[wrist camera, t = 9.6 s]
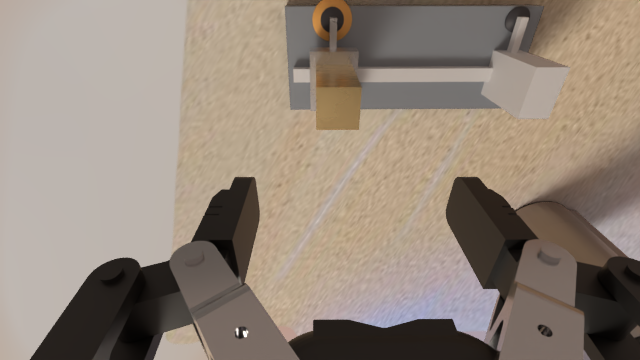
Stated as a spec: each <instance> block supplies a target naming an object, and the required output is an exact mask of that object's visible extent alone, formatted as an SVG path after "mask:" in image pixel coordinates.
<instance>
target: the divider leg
mask: <svg viewBox="0 0 640 360" xmlns="http://www.w3.org/2000/svg"><path fill="white" fill-rule="evenodd" d="M358 57H359V51H358V49H357V48H356V47H337V17H330V31H329V47H310V103H311V111H316V130H359V119H360V106H361V92H362V86H361V84H360V82H359V79H358V77H357V72H358Z"/></svg>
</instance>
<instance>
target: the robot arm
mask: <svg viewBox="0 0 640 360" xmlns="http://www.w3.org/2000/svg"><path fill="white" fill-rule="evenodd" d="M259 216H260V211H259V202H258V195H257V187H256V181H255V178H254V177H235V178H234V180H233V183H232V185H231V188H230V190H221V191H220V192H218V193H217V194H216V195H215V196H214V197H213V198H212V200H211V202H210V204H209V206H208V208H207V210H206V212H205V216H203V218H202V221H201V223H200V225H199V227H198V229H197V231H196V233H195V235H194V237H193V239H192V241H191V242H190V243H188V244H185V245H183V246H182V247H180V248H179V249H177V250H176V251H175V252H174V253H173V255H172V256H171V258H170V260H169V261H166V262H162V263H158V264H154V265H150V266H146V267H142V268H141V267H140V265H139V263H138V262H137V261H136V260H135V259H132V258H119V259H114V260H111V261H109V262H106V263H104V264H102V265H101V266H99V267H98V268H96V269H95V270H94V271H93V272H92V273H91V274H90V275H89V276H88V277H87V279H86V280H85V282H84V283H83V285H82V286H81V287H80V289H79V290H78V292H77V293H76V295H75V296H74V297H73V299H72V300H71V302H70V303H69V305H68V306H67V307H66V309H65V310H64V312H63V313H62V315H61V316H60V317H59V319H58V320H57V322H56V323H55V325H54V326H53V327H52V329H51V330H50V332H49V333H48V335H47V336H46V338H45V339H44V340H43V342H42V343H41V345H40V346H39V347H38V349H37V350H36V352H35V353H34V355H33V356H32V357H31V359H30V360H153V359H154V356H155V354H156V351H157V348H158V346H159V343H160V340H161V338H162V335H163V333H164V332H167V331H170V330H173V329H177V328H180V327H183V326H186V325H190V324H192V325H193V327H194V329H195V331H196V334H197V336H198V338H199V340H200V342H201V345H202V347H203V349H204V351H205V354H206V356H207V358H208V360H640V261H637V260H634V259H631V258H629V257H628V256H626V255H625V254H624V253H623V252H622V251H621V250H620V249H619V248H617V247H616V246H615V245H614V244H613V243H612V242H611V241H609V240H608V239H607V238H606V237H605V236H604V235H603V234H602V233H600V232H599V231H598V230H597V229H596V228H595V227H594V226H593V225H591V224H590V223H589V222H588V221H587V220H586V219H585V218H584V217H582V216H581V215H580V214H579V213H578V212H577V211H575V210H572V211H571V210H568V209H566V208H565V207H564V206H563V205H561V204H559V203H555V202H539V203H534V204H531V205H528V206H525V207H523V208H521V209H519V210H518V211H516V212H515V210H514V209H513V208H511V206H510V205H509V203H508V202H507V201H506V200H505V199H504V198H503V197H502V196H501V195H499V194H498V193H496V192H494V191H493V190H491V189H488V188H487V187H486V186H485V185H484V184H483V182H482V181H481V180H480V179H479V178H478V177H457V178H456V179H455V180H454V183H453V187H452V190H451V193H450V197H449V200H448V204H447V208H446V219H447V222H448V224H449V226H450V228H451V230H452V232H453V233H454V235H455V237H456V239H457V241H458V243H459V245H460V246H461V248H462V250H463V252H464V254H465V256H466V258H467V259H468V261H469V263H470V265H471V267H472V269H473V271H474V272H475V274H476V276H477V278H478V280H479V282H480V284H481V285H482V287H483V289H498V291H499V293H500V294H499V296H498V298H497V300H496V304H495V307H494V310H493V313H492V317H491V320H490V323H489V326H488V330H487V333H486V336H485V339H484V342H483V341H481V340H479V339H477V338H475V337H473V336H471V335H468V334H466V333H463V332H460V331H457V330H456V327H455V325H454V322H453V320H452V319H417V320H414V321H410V322H406V323H403V324H399V325H395V326H392V327H388V328H381V327H376V326H372V325H368V324H364V323H360V322H355V321H351V320H313V331H311V332H307V333H304V334H302V335H300V336H297V337H296V338H294V339H292V340H291V341H289V342H287V341H286V339H285V338H284V336H283V335H282V334H281V332H280V331H279V329H278V328H277V326H276V325H275V323H274V322H273V320H272V319H271V317H270V316H269V315H268V313H267V312H266V310H265V309H264V307H263V306H262V304H261V303H260V302H259V300H258V299H257V297H256V296H255V294H254V293H253V291H252V290H251V289H250V287H249V286H248V285H247V284H246V283H244V282H245V278H246V274H247V270H248V265H249V261H250V257H251V253H252V249H253V245H254V241H255V236H256V232H257V228H258V224H259Z"/></svg>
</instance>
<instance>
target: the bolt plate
mask: <svg viewBox="0 0 640 360" xmlns="http://www.w3.org/2000/svg"><path fill="white" fill-rule="evenodd" d="M543 8H544V6H539V5H347V3H346V2H345V1H343V0H322V1H320V2H319V3H318V5H286V6H285V17H286V35H287V53H288V72H289V90H290V108H291V110H299V109H311V103H310V47H329V31H330V17H337V47H356V48H357V49H358V51H359V57H358V72H357V77H358V79H359V82H360V84H361V86H362V92H361V106H360V109H483V108H502V109H504V110H505V111H507V112H508V113H509V114H511V115H512V116H514V117H515V118H517V119H548V118H549V116H550V114H551V111H552V109H553V107H554V104H555V102H556V100H557V97H558V95H559V93H560V90H561V88H562V86H563V83H564V81H565V79H566V77H567V74H568V72H569V70H570V67H568V66H565V65H562V64H559V63H556V62H554V61H551V60H548V59H545V58H542V57H539V56H536V55H533V54H530V53H528V51H529V48H530V46H531V43H532V40H533V37H534V34H535V31H536V28H537V25H538V23H539V20H540V17H541V14H542V11H543Z"/></svg>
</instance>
